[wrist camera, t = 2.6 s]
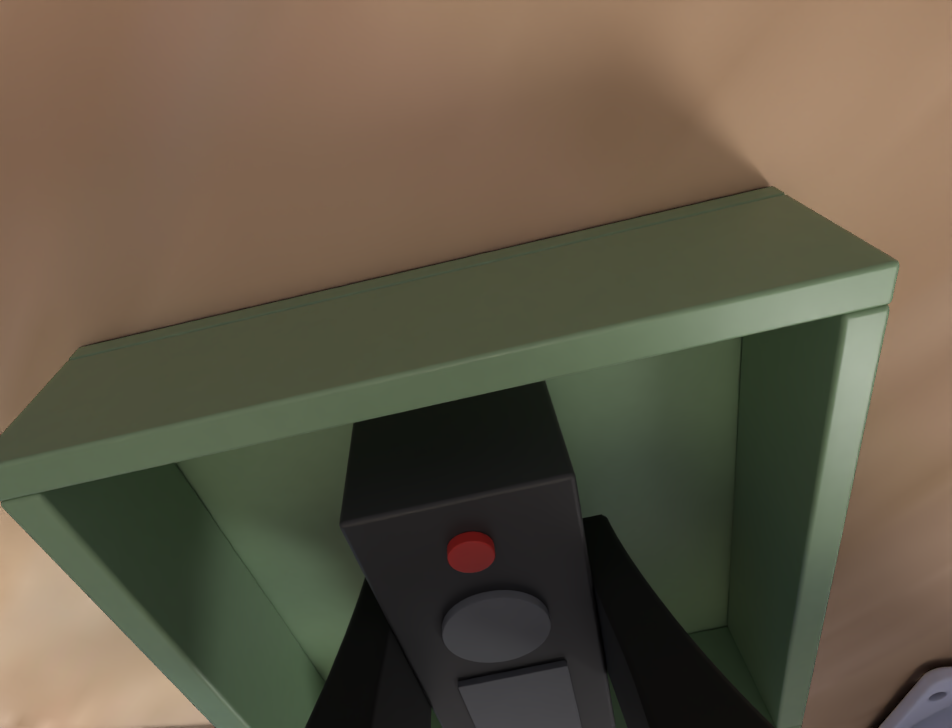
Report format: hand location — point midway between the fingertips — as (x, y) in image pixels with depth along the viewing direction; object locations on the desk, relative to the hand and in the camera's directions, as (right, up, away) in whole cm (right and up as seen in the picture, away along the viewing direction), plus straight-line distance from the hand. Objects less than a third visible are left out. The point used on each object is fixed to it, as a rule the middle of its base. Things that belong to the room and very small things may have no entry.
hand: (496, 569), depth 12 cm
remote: (0, +1, +1) cm, 1 cm away
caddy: (0, +1, +1) cm, 1 cm away
